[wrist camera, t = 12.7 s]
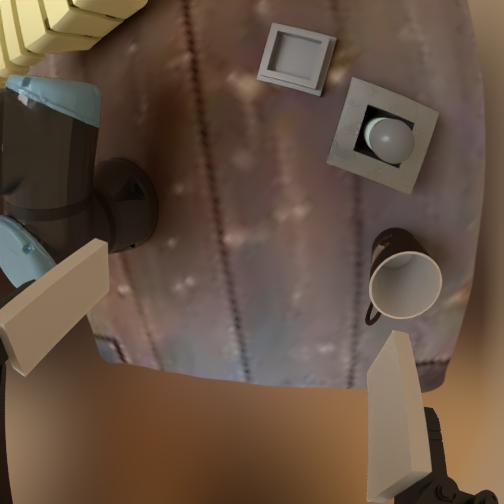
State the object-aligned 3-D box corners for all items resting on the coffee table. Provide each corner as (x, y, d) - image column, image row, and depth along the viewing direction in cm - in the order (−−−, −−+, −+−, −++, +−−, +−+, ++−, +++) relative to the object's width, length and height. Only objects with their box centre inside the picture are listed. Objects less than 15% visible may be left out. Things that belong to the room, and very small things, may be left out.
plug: (366, 112, 34) (379, 112, 24) (396, 124, 34) (420, 129, 23) (357, 141, 36) (365, 153, 26) (386, 153, 36) (406, 170, 25)
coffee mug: (404, 207, 38) (421, 236, 29) (433, 256, 39) (453, 294, 31) (334, 254, 43) (331, 292, 34) (366, 297, 45) (370, 341, 36)
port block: (327, 156, 38) (326, 163, 33) (350, 82, 33) (352, 76, 28) (400, 183, 37) (410, 195, 31) (425, 112, 32) (439, 112, 27)
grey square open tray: (258, 80, 36) (252, 77, 33) (273, 24, 32) (269, 18, 29) (320, 96, 35) (319, 95, 32) (336, 39, 31) (336, 34, 28)
